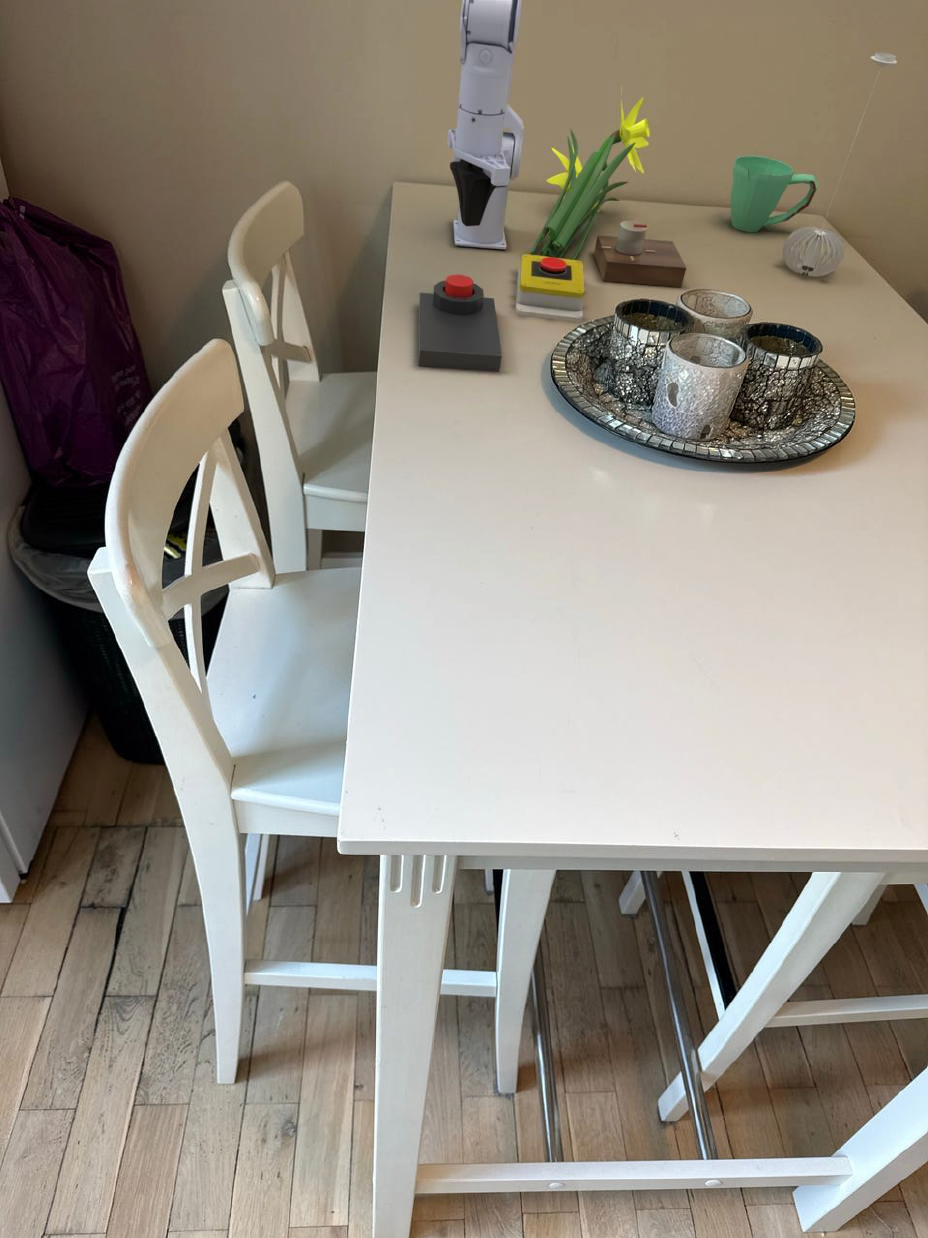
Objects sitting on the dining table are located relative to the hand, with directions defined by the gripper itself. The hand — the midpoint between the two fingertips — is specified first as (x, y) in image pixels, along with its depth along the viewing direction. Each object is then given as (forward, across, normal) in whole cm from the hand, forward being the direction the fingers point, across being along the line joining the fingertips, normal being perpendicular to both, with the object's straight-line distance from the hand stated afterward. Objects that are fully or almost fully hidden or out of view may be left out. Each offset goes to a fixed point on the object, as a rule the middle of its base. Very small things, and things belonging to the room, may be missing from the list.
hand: (470, 223), depth 115 cm
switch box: (+10, -10, +5) cm, 16 cm away
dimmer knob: (+7, +4, -29) cm, 30 cm away
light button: (+7, -5, +3) cm, 9 cm away
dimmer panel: (+10, +4, -31) cm, 33 cm away
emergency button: (+10, -1, -13) cm, 17 cm away
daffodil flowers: (+11, +19, -29) cm, 36 cm away
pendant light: (+11, -2, -60) cm, 61 cm away
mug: (+11, +15, -63) cm, 66 cm away
